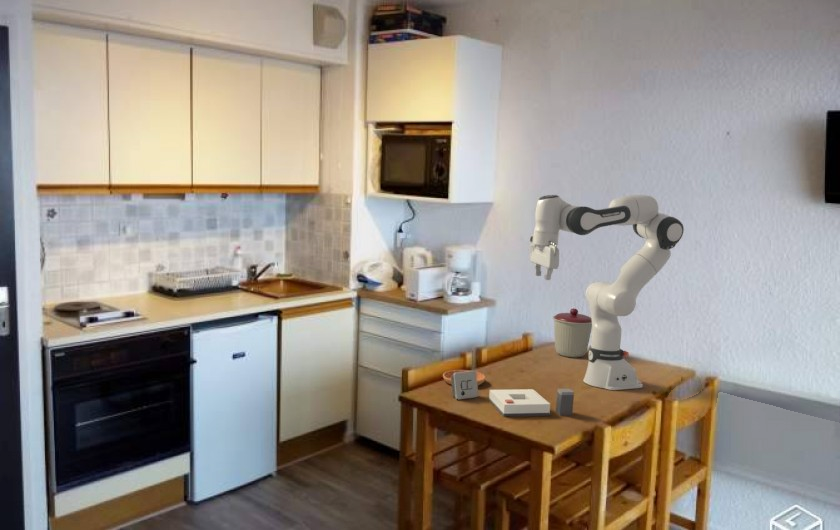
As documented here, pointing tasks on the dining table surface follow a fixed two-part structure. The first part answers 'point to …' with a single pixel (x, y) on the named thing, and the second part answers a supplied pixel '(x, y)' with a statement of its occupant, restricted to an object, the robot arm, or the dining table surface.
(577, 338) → the canister
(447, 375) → the saucer
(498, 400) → the socket
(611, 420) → the dining table surface
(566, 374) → the dining table surface
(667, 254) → the robot arm
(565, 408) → the grey upright block
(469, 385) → the electrical switch
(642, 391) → the dining table surface
